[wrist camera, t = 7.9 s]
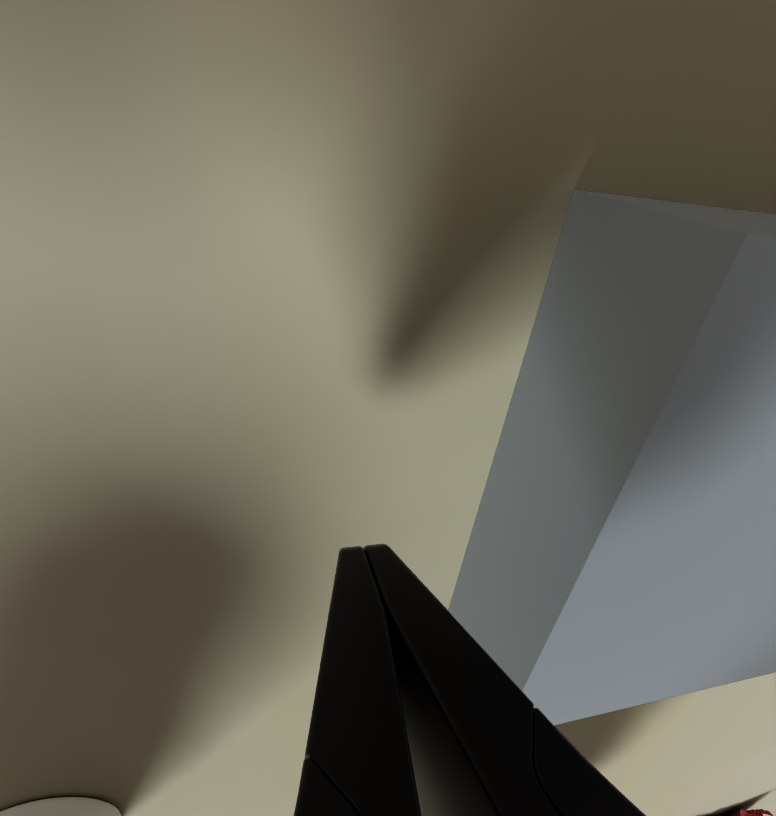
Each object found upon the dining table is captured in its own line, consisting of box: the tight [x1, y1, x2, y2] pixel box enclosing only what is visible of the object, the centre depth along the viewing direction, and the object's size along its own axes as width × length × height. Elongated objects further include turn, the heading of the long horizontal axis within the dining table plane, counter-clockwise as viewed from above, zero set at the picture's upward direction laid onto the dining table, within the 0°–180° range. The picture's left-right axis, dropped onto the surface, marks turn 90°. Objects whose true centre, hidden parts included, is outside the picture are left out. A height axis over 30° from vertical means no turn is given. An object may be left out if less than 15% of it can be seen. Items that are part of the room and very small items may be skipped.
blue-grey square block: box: [448, 190, 776, 725], centre depth 12 cm, size 12×12×4 cm
